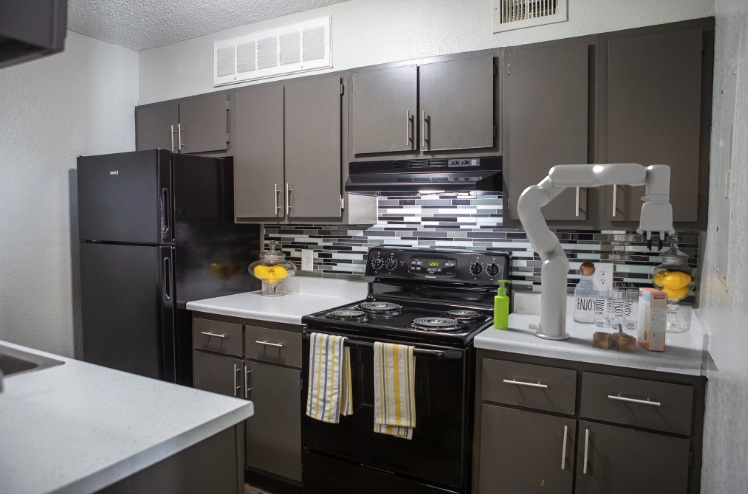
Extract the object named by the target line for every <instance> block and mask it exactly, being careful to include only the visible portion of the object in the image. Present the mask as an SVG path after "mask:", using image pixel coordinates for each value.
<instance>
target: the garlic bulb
mask: <svg viewBox="0 0 748 494" xmlns="http://www.w3.org/2000/svg"><path fill="white" fill-rule="evenodd" d="M622 328H623V327H622V323H621V322H619V323H618V332H613V333H611V343H612V344H613V346H617V335H629V334H628V333H626V332H624V331H623V329H622Z"/></svg>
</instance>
